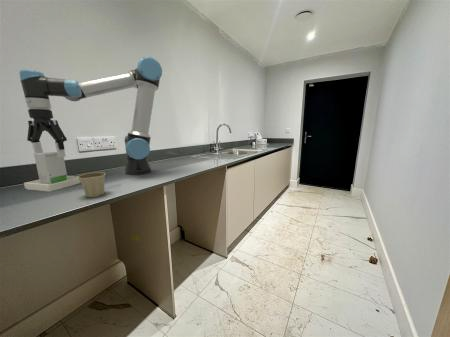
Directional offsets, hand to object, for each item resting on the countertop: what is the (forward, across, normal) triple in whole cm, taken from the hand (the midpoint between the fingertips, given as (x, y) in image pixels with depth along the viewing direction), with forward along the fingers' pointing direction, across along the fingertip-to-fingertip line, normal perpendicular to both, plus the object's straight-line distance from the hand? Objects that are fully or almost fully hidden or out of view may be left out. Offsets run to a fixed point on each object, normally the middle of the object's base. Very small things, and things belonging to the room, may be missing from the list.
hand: (50, 156), depth 84 cm
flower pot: (+15, +30, -6) cm, 34 cm away
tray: (+14, 0, 0) cm, 14 cm away
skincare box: (+14, -1, 0) cm, 14 cm away
